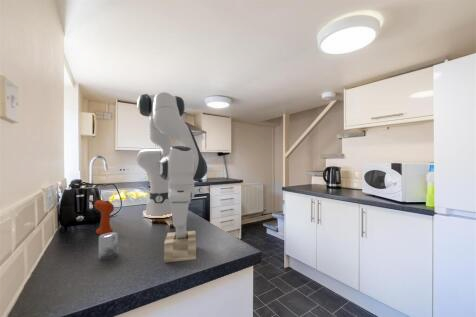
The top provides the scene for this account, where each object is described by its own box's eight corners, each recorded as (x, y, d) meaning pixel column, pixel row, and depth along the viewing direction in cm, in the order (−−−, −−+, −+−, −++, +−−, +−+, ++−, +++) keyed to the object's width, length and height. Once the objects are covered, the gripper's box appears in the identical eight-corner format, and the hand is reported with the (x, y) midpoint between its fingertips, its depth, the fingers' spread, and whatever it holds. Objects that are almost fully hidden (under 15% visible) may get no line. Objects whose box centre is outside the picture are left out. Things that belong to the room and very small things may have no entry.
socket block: (167, 249, 73) (167, 232, 74) (195, 246, 76) (195, 230, 76) (164, 262, 64) (164, 243, 64) (196, 259, 66) (196, 240, 66)
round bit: (102, 253, 70) (102, 233, 70) (120, 251, 71) (120, 231, 72) (95, 260, 65) (95, 239, 65) (114, 258, 66) (114, 237, 66)
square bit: (176, 242, 71) (176, 214, 71) (186, 241, 72) (186, 213, 72) (175, 246, 68) (175, 216, 68) (185, 245, 69) (186, 216, 69)
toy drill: (91, 223, 99) (93, 193, 98) (115, 234, 91) (118, 201, 90) (79, 226, 94) (82, 194, 94) (104, 237, 86) (107, 203, 86)
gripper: (174, 188, 79) (174, 223, 79) (168, 197, 59) (168, 244, 59) (190, 187, 81) (190, 222, 81) (190, 196, 61) (190, 242, 61)
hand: (181, 231), depth 70 cm, fingers closed on square bit, 3 cm apart
